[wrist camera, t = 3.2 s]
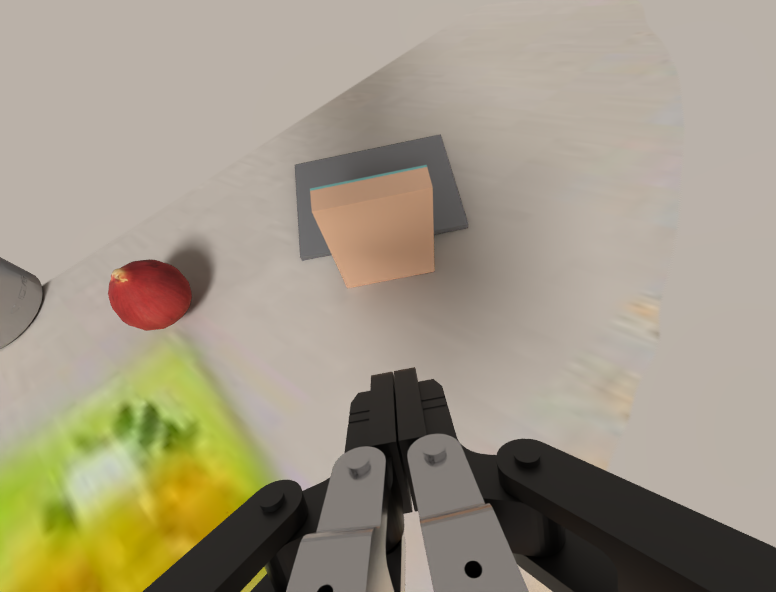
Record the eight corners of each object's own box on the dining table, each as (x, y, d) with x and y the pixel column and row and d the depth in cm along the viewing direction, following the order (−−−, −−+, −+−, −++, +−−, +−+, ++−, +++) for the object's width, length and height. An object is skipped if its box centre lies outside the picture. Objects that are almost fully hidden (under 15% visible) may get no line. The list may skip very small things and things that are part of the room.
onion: (143, 302, 37) (73, 258, 30) (200, 275, 38) (144, 225, 30) (155, 353, 34) (80, 318, 27) (215, 323, 35) (158, 281, 28)
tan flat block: (347, 288, 35) (311, 211, 25) (345, 269, 36) (310, 188, 26) (434, 271, 35) (432, 187, 25) (430, 253, 36) (426, 164, 26)
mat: (302, 260, 37) (300, 257, 36) (296, 168, 42) (294, 164, 42) (467, 227, 36) (468, 224, 36) (440, 139, 42) (440, 134, 41)
